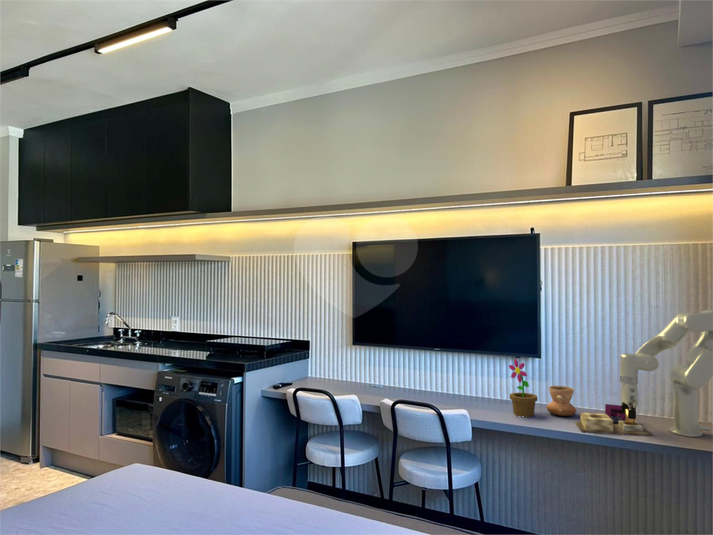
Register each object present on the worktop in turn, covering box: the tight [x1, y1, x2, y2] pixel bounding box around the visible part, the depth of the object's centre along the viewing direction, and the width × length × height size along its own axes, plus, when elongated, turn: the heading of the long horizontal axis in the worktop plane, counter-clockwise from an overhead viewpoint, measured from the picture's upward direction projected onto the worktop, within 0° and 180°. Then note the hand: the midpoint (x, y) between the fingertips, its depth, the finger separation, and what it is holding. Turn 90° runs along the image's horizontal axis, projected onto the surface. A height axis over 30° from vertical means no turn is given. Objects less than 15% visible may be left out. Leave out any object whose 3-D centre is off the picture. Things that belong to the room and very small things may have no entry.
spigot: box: [625, 408, 636, 425], centre depth 233 cm, size 4×4×9 cm
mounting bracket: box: [604, 403, 626, 421], centre depth 249 cm, size 10×8×18 cm
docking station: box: [574, 412, 653, 437], centre depth 234 cm, size 30×14×6 cm, turn 78°
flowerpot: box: [508, 358, 538, 418], centre depth 262 cm, size 14×14×30 cm
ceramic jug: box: [546, 385, 577, 417], centre depth 263 cm, size 18×14×14 cm
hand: (628, 416), depth 233 cm, fingers open, 9 cm apart
